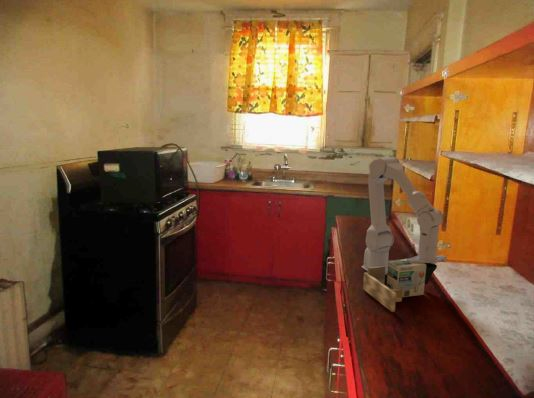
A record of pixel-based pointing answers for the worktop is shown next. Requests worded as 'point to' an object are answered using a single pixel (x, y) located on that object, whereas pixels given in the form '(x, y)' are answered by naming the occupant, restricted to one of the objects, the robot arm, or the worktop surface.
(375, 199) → the robot arm
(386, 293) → the shelf slot
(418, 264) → the light bulb box
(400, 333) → the worktop surface
